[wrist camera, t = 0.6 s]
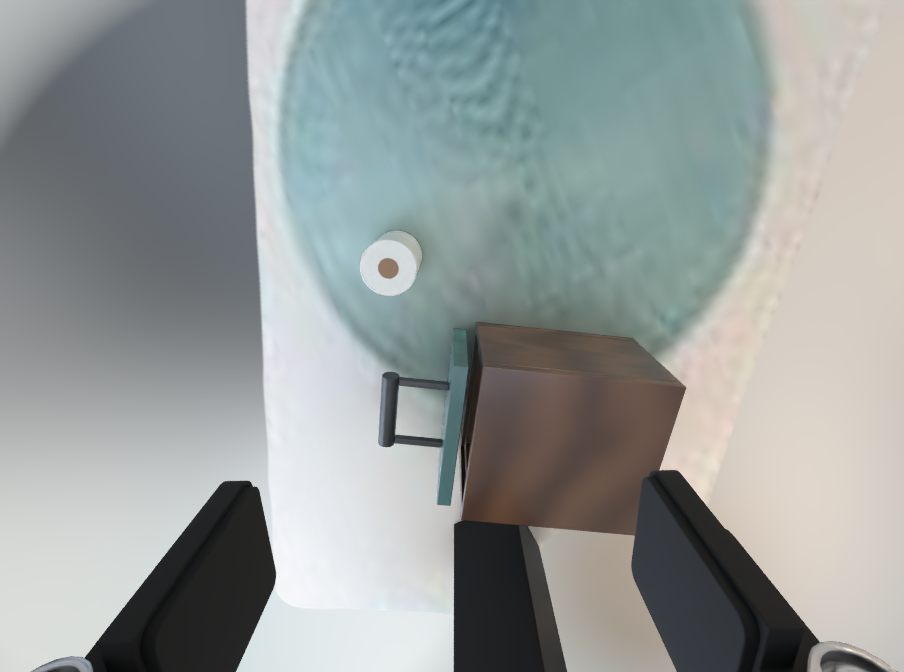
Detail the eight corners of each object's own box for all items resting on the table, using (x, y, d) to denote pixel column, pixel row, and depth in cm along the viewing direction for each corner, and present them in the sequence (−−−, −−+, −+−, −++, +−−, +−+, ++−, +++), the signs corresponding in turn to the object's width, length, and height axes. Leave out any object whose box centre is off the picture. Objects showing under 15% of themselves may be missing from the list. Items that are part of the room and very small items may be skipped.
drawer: (384, 441, 47) (369, 498, 38) (392, 321, 42) (376, 358, 34) (573, 459, 47) (598, 519, 39) (601, 343, 43) (637, 384, 34)
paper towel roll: (374, 227, 40) (360, 236, 34) (424, 233, 40) (419, 242, 34) (371, 277, 41) (358, 293, 36) (420, 282, 42) (414, 299, 36)
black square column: (453, 522, 52) (450, 884, 25) (514, 499, 50) (579, 853, 24) (481, 568, 54) (505, 940, 28) (540, 546, 53) (624, 916, 26)
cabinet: (459, 448, 48) (460, 520, 38) (476, 321, 43) (483, 366, 33) (599, 461, 48) (638, 536, 38) (633, 338, 43) (686, 387, 33)
